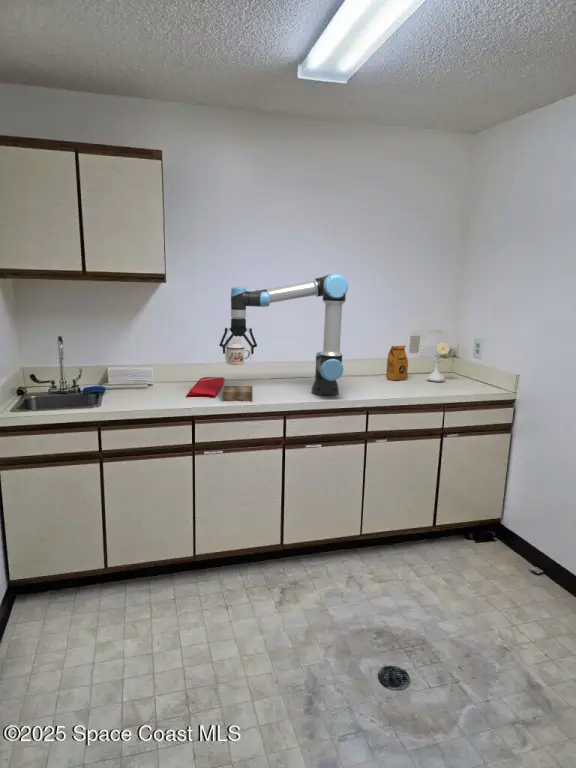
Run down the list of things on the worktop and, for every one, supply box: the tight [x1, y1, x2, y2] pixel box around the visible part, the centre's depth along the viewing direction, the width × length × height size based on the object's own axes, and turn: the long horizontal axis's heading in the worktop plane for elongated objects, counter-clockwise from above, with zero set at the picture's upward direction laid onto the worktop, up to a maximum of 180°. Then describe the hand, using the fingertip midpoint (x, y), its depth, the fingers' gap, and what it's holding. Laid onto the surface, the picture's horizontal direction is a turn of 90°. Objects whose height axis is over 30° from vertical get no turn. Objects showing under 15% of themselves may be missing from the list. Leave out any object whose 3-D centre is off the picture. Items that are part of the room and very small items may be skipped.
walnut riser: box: [222, 385, 254, 403], centre depth 266 cm, size 15×15×5 cm
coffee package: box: [385, 345, 409, 381], centre depth 325 cm, size 10×12×22 cm
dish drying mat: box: [185, 376, 225, 399], centre depth 286 cm, size 16×41×4 cm, turn 0°
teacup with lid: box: [226, 340, 250, 366], centre depth 262 cm, size 12×9×12 cm
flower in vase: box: [426, 342, 451, 383], centre depth 323 cm, size 13×11×25 cm
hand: (238, 360), depth 263 cm, fingers closed on teacup with lid, 12 cm apart
